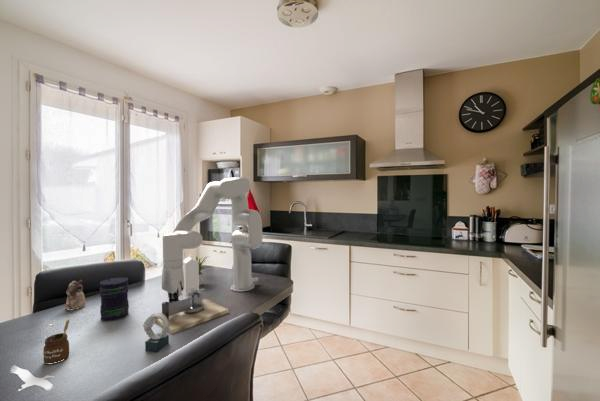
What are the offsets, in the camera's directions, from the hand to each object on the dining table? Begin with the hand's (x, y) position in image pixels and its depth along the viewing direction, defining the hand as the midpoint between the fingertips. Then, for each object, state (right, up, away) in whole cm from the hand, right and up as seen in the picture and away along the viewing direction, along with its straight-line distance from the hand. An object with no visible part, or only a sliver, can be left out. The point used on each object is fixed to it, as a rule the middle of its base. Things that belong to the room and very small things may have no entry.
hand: (173, 307), depth 114 cm
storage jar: (-25, -4, +1) cm, 25 cm away
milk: (0, -4, +17) cm, 18 cm away
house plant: (-5, -3, +42) cm, 43 cm away
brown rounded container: (-22, -5, -29) cm, 37 cm away
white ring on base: (+5, -5, -23) cm, 24 cm away
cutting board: (+7, -4, +1) cm, 8 cm away
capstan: (+5, -2, -1) cm, 5 cm away
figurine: (-49, -4, +10) cm, 50 cm away
